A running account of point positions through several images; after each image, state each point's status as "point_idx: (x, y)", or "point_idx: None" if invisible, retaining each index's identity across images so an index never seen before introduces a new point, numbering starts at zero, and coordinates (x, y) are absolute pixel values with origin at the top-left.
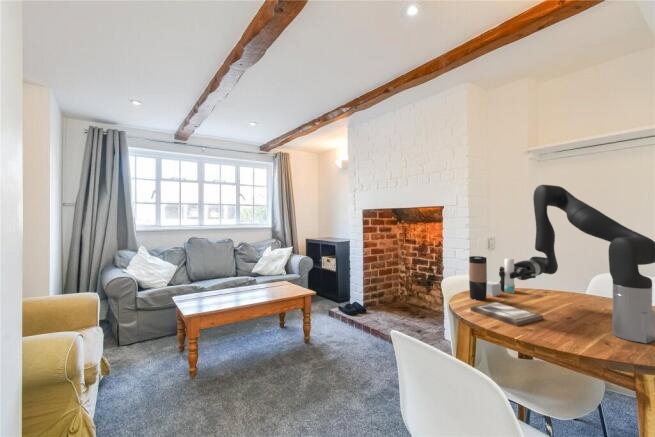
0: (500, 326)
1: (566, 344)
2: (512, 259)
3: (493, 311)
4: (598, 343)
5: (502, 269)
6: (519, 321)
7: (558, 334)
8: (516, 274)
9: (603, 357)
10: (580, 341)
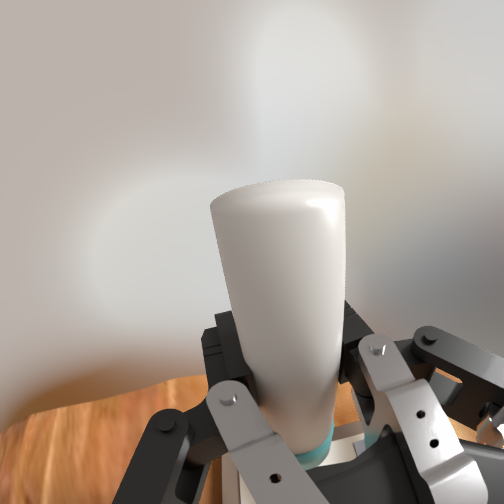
0: None
1: (81, 434)
2: (230, 204)
3: (354, 447)
4: (38, 492)
5: (414, 344)
6: (222, 461)
7: (112, 489)
8: (206, 366)
9: (30, 421)
10: (64, 477)
